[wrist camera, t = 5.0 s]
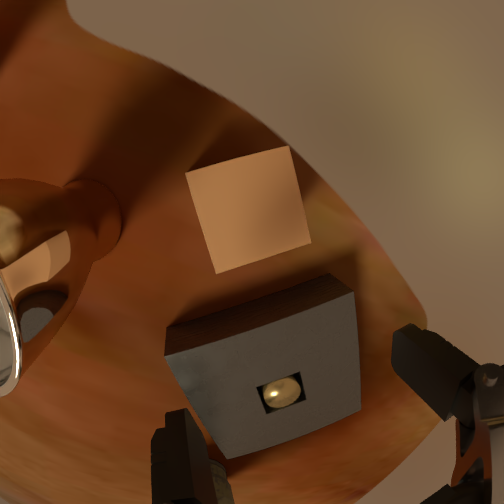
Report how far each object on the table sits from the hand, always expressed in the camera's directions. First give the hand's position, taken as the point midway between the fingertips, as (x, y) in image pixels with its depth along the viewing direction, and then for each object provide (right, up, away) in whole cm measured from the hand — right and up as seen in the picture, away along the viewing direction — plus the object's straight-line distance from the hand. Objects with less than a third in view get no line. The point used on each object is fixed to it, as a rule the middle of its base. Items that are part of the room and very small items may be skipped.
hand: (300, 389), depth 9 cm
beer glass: (-14, +7, +9) cm, 18 cm away
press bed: (0, -5, +16) cm, 17 cm away
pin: (0, -6, +15) cm, 16 cm away
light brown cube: (-3, +9, +11) cm, 14 cm away
